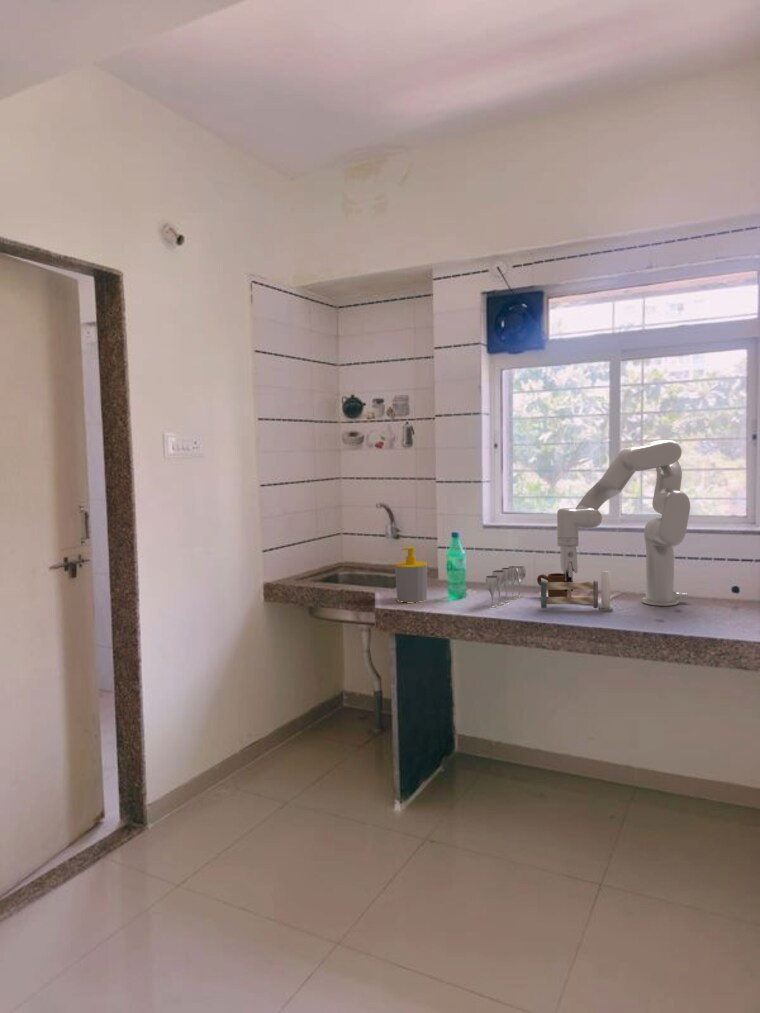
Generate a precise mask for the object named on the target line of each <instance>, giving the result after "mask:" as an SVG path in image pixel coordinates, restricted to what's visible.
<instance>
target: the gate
mask: <svg viewBox="0 0 760 1013" xmlns="http://www.w3.org/2000/svg"><path fill="white" fill-rule="evenodd" d="M565 589H567V597H548V595H547V591H548V590H565ZM571 589H573V590H593V591H592V592H593V594H592V595H593V596H572V591H571ZM547 605H593V609H599V581H598V580H594V581H573V582H548V581H547V580H546V581H545V580H543V581H542V580H541V586H540V608H541V609H548V608H547Z"/></svg>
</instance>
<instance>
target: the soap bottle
mask: <svg viewBox="0 0 760 1013" xmlns="http://www.w3.org/2000/svg"><path fill="white" fill-rule="evenodd" d="M414 550H416V547H414V546H408V547H407V546H406V547H404V548H402V549H401V551H407V555H406V556H405V561H399V562H396V563H395V564H394V575H395V577H394V578H395V587H396V588H395V589H396V597H397V599H398V600H399V601H403V602H419V601H424V600H426V601H427V596H428V595H427V593H428V563H427V562H426V561H420V560H419V561H417V556H416V555H414ZM397 599H396V600H397Z"/></svg>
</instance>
